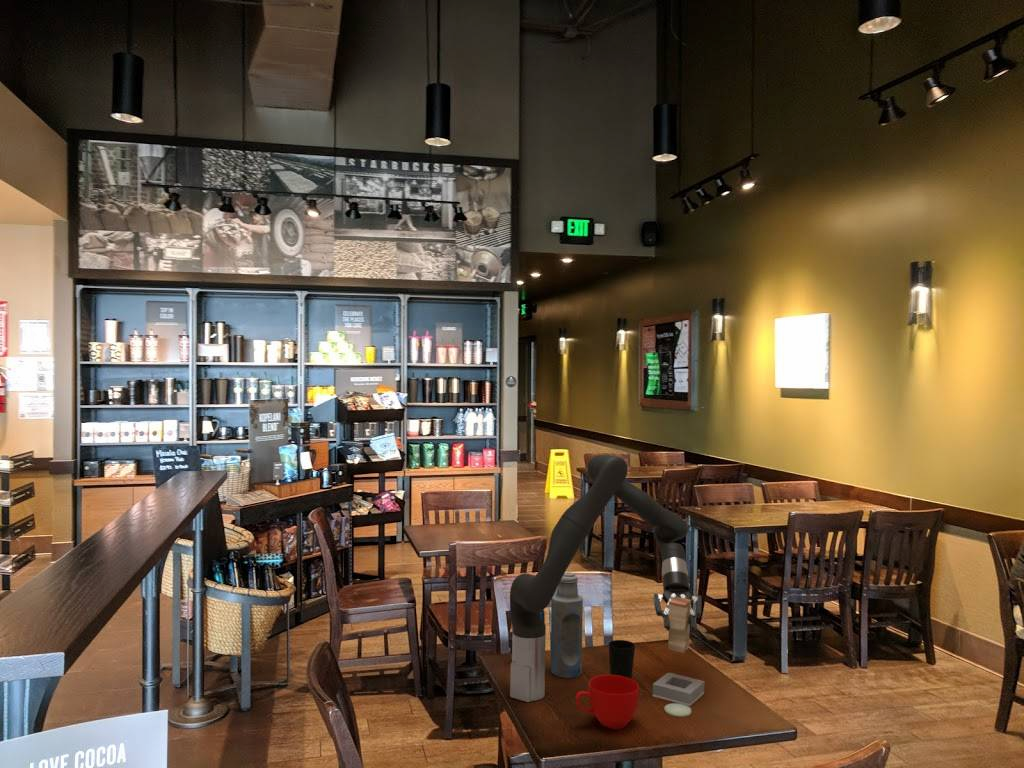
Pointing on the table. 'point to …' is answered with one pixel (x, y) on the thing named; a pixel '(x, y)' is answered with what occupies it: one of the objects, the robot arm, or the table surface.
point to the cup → (621, 657)
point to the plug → (679, 624)
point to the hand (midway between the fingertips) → (680, 629)
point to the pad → (677, 710)
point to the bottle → (566, 628)
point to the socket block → (678, 689)
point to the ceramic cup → (612, 699)
